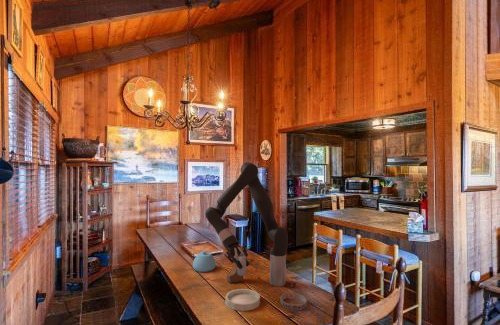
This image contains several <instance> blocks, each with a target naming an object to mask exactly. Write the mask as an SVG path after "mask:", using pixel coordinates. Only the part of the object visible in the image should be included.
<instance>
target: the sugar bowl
mask: <svg viewBox="0 0 500 325" xmlns="http://www.w3.org/2000/svg"><path fill="white" fill-rule="evenodd" d="M215 260H216V259H215V258H214V256H213V254H212V253H210V252H208V250H203V251H201V252H198V253H197V254H196V256H195V257H194V260H193V261H192V268H193V270H194V271H196V272H199V273H208V272H211V271H213V270H214V269H215V268H216V261H215Z"/></svg>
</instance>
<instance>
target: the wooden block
mask: <svg viewBox="0 0 500 325" xmlns="http://www.w3.org/2000/svg"><path fill="white" fill-rule="evenodd" d="M240 255H241V254H240ZM243 281H244V276H239V275H238V274H237V265H236V263H233V267H232V270H231V272H227V274H226V282H228V283H229V284H234V283H238V282H243Z"/></svg>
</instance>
